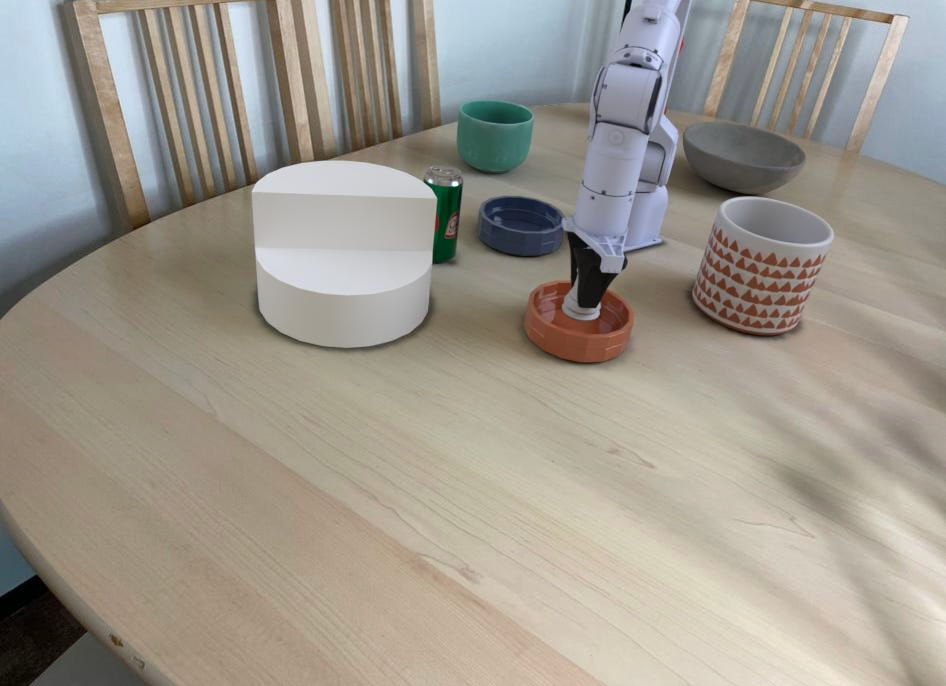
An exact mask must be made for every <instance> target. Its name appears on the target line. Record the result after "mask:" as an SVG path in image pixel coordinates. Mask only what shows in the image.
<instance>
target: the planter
mask: <svg viewBox="0 0 946 686" xmlns="http://www.w3.org/2000/svg"><path fill="white" fill-rule="evenodd" d="M834 239H835V232H834V229H833V228H832V226H831V225H830V224H829V223H828V222H827V221H826V220H824V219H823V218H822V217H820V216H819V215H817V214H816V213H814V212H812V211H810V210H808V209H805V208H803V207H801V206H798V205H795V204H793V203H790V202H786V201H782V200H778V199H773V198H768V197H761V196H736V197H732V198H728V199H726V200H724V201H723V202H721V204H720V205H719V206H718V209H717V212H716V215H715V218H714V220H713V224H712V228H711V230H710V234H709V237H708V240H707V242H706V243H707V244H706V245H705V249H704V253H703V256H702V258H701V262H700V266H699V268H698V272H697V274H696V278H695V281H694V284H693V286H692V291H691V297H692V300H693V302H694V304H695V306H696V307H697V308H698V309H699V311H700V312H701V313H703V314H704V315H705V316H706V317H708V318H709V319H711V320H713V321H714V322H715V323H718V324H720V325H722V326H724V327H726V328H729V329H731V330H734V331H737V332H741V333H745V334H748V335H749V334H750V335H757V336H778V335H783V334H786V333H788V332H790V331H792V330H794V329H795V328H796V327H797V326H798V324H799V321H800V319H801V317H802V314H803V313H804V309H805V307H806V305H807V303H808V300H809V298H810V296H811V294H812V291H813V289H814V286H815V284H816V281H817V280H818V276H819V275H820V272H821V269H822V268H823V265H824V263H825V261H826V258H827V256H828V253H829V251H830V249H831V247H832V244H833V242H834Z"/></svg>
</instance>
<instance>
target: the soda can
mask: <svg viewBox="0 0 946 686" xmlns="http://www.w3.org/2000/svg"><path fill="white" fill-rule="evenodd" d="M422 182H424V183H425V184H426V185H427V186H429V187H430V188H431V189H432V190H433V192H434V194H435V196H436V197H437V208H436V219H435V230H434V242H433V256H432V263H434V264H443V263H448V262H450V261H451V260H452V259H454V258H455V257H456V255H457V247H458V246H457V245H458V238H459V237H458V236H459V227H460V218H461V209H462V199H463V190H464V178H463V177H462V171H461V170H460V169H459V168H457V167H455V166H452V165H447V164H435V165H430V166H429V167H427V169H426V173H425V174H424V176H423V180H422Z"/></svg>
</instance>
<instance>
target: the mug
mask: <svg viewBox="0 0 946 686" xmlns="http://www.w3.org/2000/svg"><path fill="white" fill-rule="evenodd" d="M534 121H535V114H534V113H533V112H532V110H530V109H528V107H527V106H525V105H523V104H516V103H514V102H509V101H505V100H496V99H476V100H475V99H474V100H470V101H466V102H464V103H462V104H461V105H460V107H459V111H458V117H457V128H456V129H457V130H456V146H457V147H456V148H457V153H458V154H459V156H460V158H461V159H462V160H463V161H464V162H465V163H467V164H468V165H470V166H471V167H472V168H473V169H475V170H478V171H480V172H483V173H490V174H501V173H502V174H503V173H506V172H509V171H510V170H513V169H515V168H517V167H519V166H521V165H522V164H523V163H524V161H525V160H526V159H527V157H528V155H529V152H530V147H531V143H532V137H533V128H534Z"/></svg>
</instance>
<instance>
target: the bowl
mask: <svg viewBox="0 0 946 686" xmlns="http://www.w3.org/2000/svg"><path fill="white" fill-rule="evenodd" d="M682 147H683V151H684V155H685V158H686V160H687V162H688V164H689V166H690V167H691V168H692V170H693V171H694V172H695V173H696V174H697V175H698V176H699V177H700V178H702V179H703V180H704V181H707V182H708V183H710V184H712V185H714V186H716V187H719V188H721V189H725V190H729V191H731V192H735V193H739V194H746V195H761V194H762V195H763V194H765V193H770V192H773V191H775V190H777V189H779V188H781V187H783V186H785V185H787V184H788V183H790V182H792V180H793V179H795V178H796V177H797V176H798V175H799V174H800V172H802V171H803V169H804V167H805V165H806V163H807V155H806V153H805V151H804V150H803V148H801V147H800V146H799V144H797V143H795V142H793V141H791V140H790V139H788V138H787V137H784V136H782V135H781V134H777V133H774V132H772V131H769V130H766V129H763V128H759V127H756V126H755V127H754V126H750V125H745V124H740V123H734V122H727V121H705V122H704V121H703V122H697V123H693V124H691V125H689V126H687V127H686V128H685V129H684V131H683V133H682Z"/></svg>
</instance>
